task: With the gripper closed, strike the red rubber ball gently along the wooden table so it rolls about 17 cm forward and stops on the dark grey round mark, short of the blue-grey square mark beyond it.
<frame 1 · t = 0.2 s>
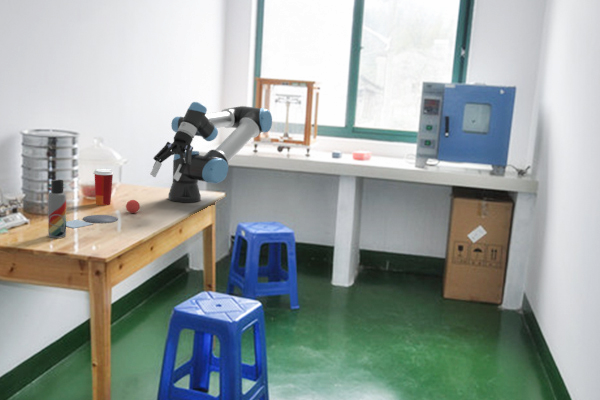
hand: (163, 177, 252), 15 cm above the table, tool tilted 35°, fingers open, 13 cm apart
coffee cup: (102, 204, 262), on the table
ball: (132, 206, 250), on the table
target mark: (100, 219, 236), on the table
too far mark: (75, 224, 226), on the table
lotion bottle: (57, 236, 209), on the table
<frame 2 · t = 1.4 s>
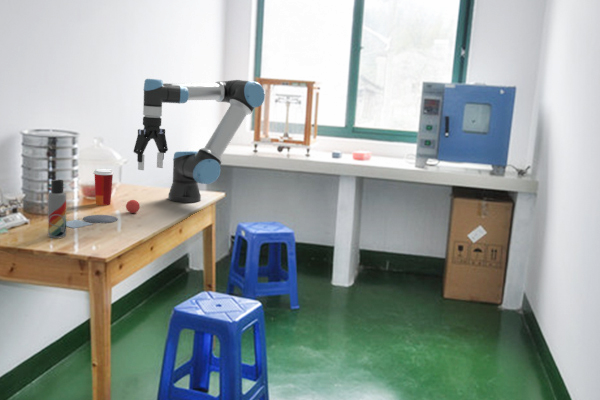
hand: (150, 168, 256), 18 cm above the table, tool pointing down, fingers open, 10 cm apart
nothing on the table moved.
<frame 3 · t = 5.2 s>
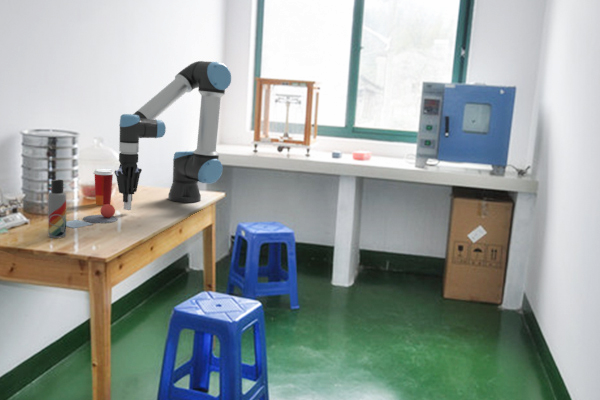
hand: (127, 209, 248), 2 cm above the table, tool pointing down, fingers closed
ball: (107, 211, 239), on the table
everything else where it was.
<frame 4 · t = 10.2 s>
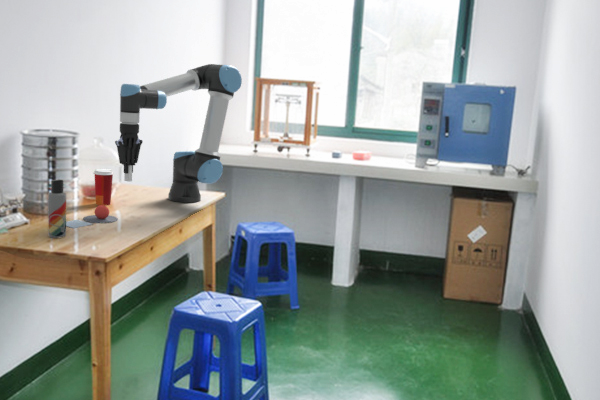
hand: (128, 180, 246), 14 cm above the table, tool pointing down, fingers closed
ball: (101, 212, 237), on the table
everything else where it was.
at the end: ball 0.7 cm from the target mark (horizontally); ball at rest at the end (0.0 cm/s); ball moved 16.3 cm from its start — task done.
